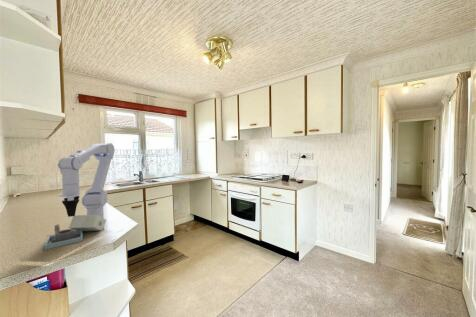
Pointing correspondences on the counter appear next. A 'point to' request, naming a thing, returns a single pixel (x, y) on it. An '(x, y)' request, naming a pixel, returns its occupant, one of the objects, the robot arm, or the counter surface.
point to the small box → (87, 223)
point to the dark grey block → (64, 235)
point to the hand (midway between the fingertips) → (71, 214)
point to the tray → (62, 241)
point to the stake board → (57, 229)
